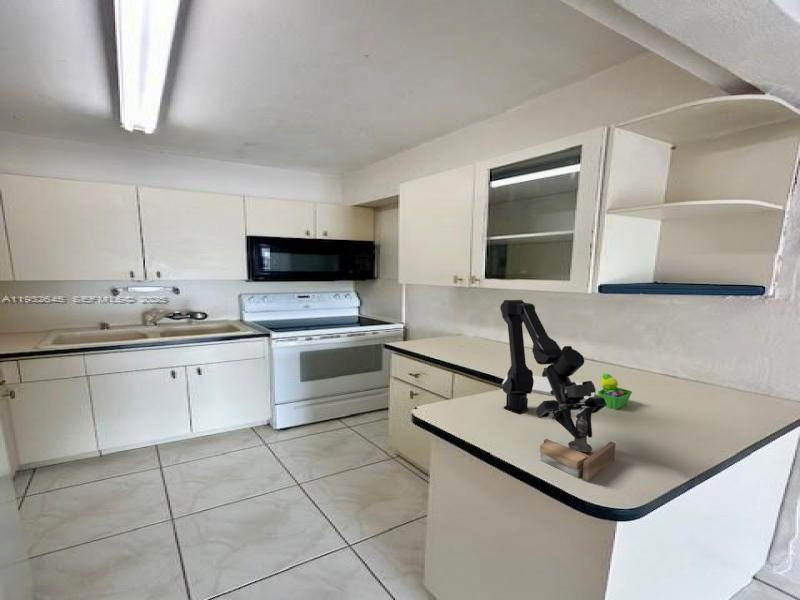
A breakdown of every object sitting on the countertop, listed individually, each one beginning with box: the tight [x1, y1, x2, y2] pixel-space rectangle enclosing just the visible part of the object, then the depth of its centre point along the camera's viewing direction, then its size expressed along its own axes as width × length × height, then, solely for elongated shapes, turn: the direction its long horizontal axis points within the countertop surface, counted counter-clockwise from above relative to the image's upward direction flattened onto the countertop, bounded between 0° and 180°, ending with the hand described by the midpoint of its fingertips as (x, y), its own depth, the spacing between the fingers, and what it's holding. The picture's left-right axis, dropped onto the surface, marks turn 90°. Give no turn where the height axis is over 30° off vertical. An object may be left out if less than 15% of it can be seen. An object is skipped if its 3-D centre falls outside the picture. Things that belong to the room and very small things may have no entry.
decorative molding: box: [501, 375, 597, 402], centre depth 153 cm, size 34×5×10 cm
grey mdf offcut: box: [539, 453, 583, 479], centre depth 95 cm, size 10×4×2 cm, turn 38°
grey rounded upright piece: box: [567, 416, 593, 456], centre depth 101 cm, size 6×6×12 cm
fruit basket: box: [597, 372, 633, 411], centre depth 139 cm, size 11×9×11 cm
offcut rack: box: [543, 438, 616, 483], centre depth 98 cm, size 14×16×6 cm
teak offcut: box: [539, 440, 586, 470], centre depth 95 cm, size 10×4×2 cm, turn 36°
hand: (584, 437), depth 99 cm, fingers closed on grey rounded upright piece, 3 cm apart
